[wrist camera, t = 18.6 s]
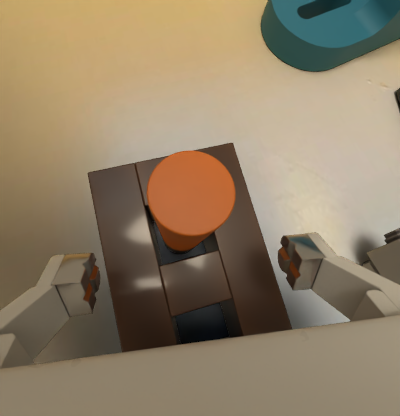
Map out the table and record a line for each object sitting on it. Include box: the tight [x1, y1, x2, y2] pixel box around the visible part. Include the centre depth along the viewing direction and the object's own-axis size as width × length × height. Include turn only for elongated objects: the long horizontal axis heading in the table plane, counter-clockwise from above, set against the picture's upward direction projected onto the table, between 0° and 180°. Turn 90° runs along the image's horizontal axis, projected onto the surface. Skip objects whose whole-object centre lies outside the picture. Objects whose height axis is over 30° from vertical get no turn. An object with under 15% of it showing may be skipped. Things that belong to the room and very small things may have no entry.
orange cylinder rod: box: [147, 151, 236, 254], centre depth 15 cm, size 3×3×14 cm
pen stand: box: [88, 143, 292, 352], centre depth 18 cm, size 10×17×6 cm, turn 15°
